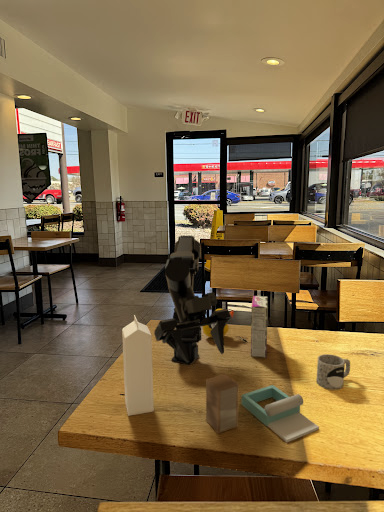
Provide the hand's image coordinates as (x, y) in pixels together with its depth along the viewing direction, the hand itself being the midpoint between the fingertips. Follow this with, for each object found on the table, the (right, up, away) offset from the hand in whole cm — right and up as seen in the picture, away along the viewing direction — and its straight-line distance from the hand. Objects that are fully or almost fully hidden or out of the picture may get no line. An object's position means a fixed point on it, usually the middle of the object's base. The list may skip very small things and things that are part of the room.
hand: (205, 357), depth 85 cm
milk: (-16, -13, +3) cm, 20 cm away
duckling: (+6, -5, +44) cm, 45 cm away
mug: (+35, -10, +14) cm, 39 cm away
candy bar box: (+18, -7, +33) cm, 38 cm away
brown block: (+3, -14, -4) cm, 14 cm away
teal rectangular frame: (+16, -13, -1) cm, 21 cm away
